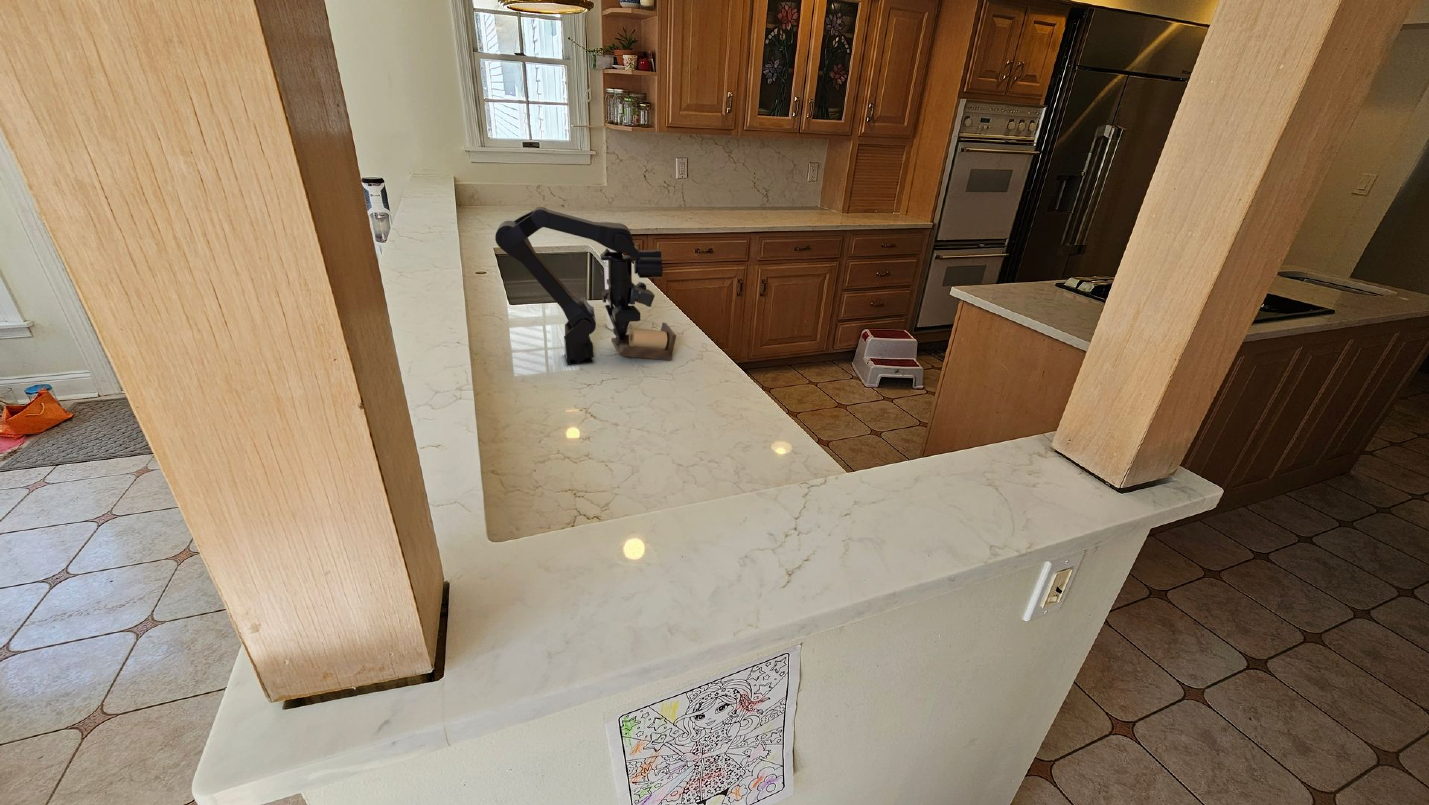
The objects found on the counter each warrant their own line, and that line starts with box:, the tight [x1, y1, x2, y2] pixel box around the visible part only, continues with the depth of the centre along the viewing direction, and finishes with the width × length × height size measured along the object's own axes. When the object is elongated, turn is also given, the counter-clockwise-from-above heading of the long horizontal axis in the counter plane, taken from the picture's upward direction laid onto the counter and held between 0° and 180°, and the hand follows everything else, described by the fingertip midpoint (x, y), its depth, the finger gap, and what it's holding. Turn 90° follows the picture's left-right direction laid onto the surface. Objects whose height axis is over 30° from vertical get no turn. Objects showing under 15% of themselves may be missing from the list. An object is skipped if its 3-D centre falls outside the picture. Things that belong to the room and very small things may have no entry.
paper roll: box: [628, 327, 667, 350], centre depth 160 cm, size 9×5×5 cm, turn 110°
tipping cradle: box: [610, 321, 677, 361], centre depth 159 cm, size 15×10×7 cm, turn 110°
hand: (620, 336), depth 157 cm, fingers closed on tipping cradle, 3 cm apart
